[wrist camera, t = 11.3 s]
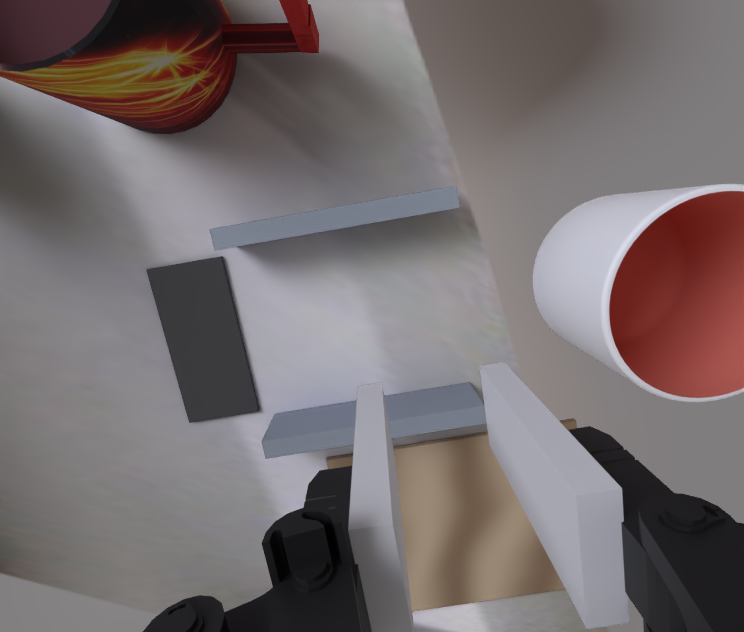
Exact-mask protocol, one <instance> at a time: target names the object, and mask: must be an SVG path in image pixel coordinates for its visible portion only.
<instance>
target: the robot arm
mask: <svg viewBox="0 0 744 632" xmlns="http://www.w3.org/2000/svg"><path fill="white" fill-rule="evenodd" d="M480 374H481V382H482V390H483V398H484V406H485V414H486V422H487V430H488V438H489V445H490V447H491V449H492V451H493V453H494V455H495V457H496V459H497V461H498V462H499V464H500V466H501V468H502V470H503V472H504V474H505V476H506V478H507V479H508V481H509V483H510V485H511V487H512V489H513V491H514V493H515V495H516V496H517V498H518V500H519V502H520V504H521V506H522V508H523V510H524V511H525V513H526V515H527V517H528V519H529V521H530V523H531V525H532V527H533V528H534V530H535V532H536V534H537V536H538V538H539V540H540V542H541V544H542V545H543V547H544V549H545V551H546V553H547V555H548V557H549V559H550V561H551V562H552V564H553V566H554V568H555V570H556V572H557V574H558V576H559V578H560V579H561V581H562V583H563V585H564V587H565V589H566V591H567V593H568V594H569V596H570V598H571V600H572V602H573V604H574V606H575V608H576V610H577V611H578V613H579V615H580V617H581V619H582V621H583V623H584V625H585V627H586V628H587V629H591V628H598V627H605V626H612V625H619V624H625V623H629V609H628V608H629V607H628V597H629V598H630V600H631V601H632V602H633V604H634V605H635V607H636V608H637V610H638V611H639V613H640V614H641V615H642V617H643V620H644V621H643V622H644V632H744V524H742V523H737V522H735V520H734V519H733V518H732V517H731V516H730V515H729V514H727V513H726V512H725V511H723V510H722V509H721V508H720V507H718V506H716V505H714V504H712V503H710V502H708V501H705V500H703V499H701V498H697V497H693V496H689V495H685V494H676V493H673V492H672V491H671V490H670V489H669V488H668V487H667V486H666V485H664V484H663V483H662V482H661V481H660V480H659V479H658V478H656V476H655V475H653V474H652V473H651V472H650V471H649V470H648V469H647V468H646V467H645V466H643V465H642V464H641V463H640V462H639V461H638V460H635V458H634V457H633V456H632V455H631V454H630V453H629V452H628V451H627V450H624V449H623V447H622V446H621V445H620V444H619V443H618V442H617V441H616V440H615V439H614V438H612V437H611V436H610V435H608V434H606V433H604V432H601V431H599V430H597V429H595V428H593V427H590V426H589V427H583V428H576V429H570V430H567V429H566V428H565V427H564V426H563V425H562V424H561V423H560V421H559V420H558V419H557V418H556V417H555V416H554V415H553V414H552V413H551V412H550V411H549V410H548V409H547V408H546V407H545V405H544V404H543V403H542V402H541V401H540V400H539V399H538V398H537V397H536V396H535V395H534V394H533V393H532V392H531V391H530V389H529V388H528V387H527V386H526V385H525V384H524V383H523V382H522V381H521V380H520V379H519V378H518V377H517V376H516V375H515V373H514V372H513V371H512V370H511V369H510V368H509V367H508V366H507V365H506V364H505V363H504V362H502V363H496V364H489V365H483V366H480ZM262 546H263V550H264V554H265V558H266V562H267V565H268V569H269V573H270V577H271V581H272V585H273V588H272V589H271V590H269V591H268V592H266V593H265V594H264V595H262V596H260V597H258V598H256V599H254V600H252V601H250V602H248V603H246V604H243V605H241V606H238V607H236V608H234V609H231V610H229V611H227V612H224V610H223V606H222V603H221V602H219V601H218V600H217V599H215V598H214V597H210V596H196V597H191V598H187V599H184V600H182V601H180V602H178V603H176V604H174V605H172V606H170V607H168V608H167V609H166V610H164V611H163V612H162V613H161V614H159V615H158V616H157V617H156V618H154V619H153V620H152V621H151V622H150V624H149V625H148V626H147V627H146V629H145V630H144V631H143V632H414V626H413V616H412V607H411V598H410V589H409V580H408V571H407V562H406V552H405V543H404V534H403V525H402V516H401V507H400V497H399V488H398V479H397V470H396V461H395V455H394V449H393V444H392V438H391V432H390V426H389V421H388V415H387V409H386V404H385V398H384V392H383V387H382V382H379V383H373V384H367V385H361V386H358V390H357V405H356V420H355V435H354V450H353V465H352V466H346V467H340V468H333V469H327V470H321V471H319V472H318V473H317V475H316V476H315V477H314V478H313V480H312V481H311V482H310V483H309V486H308V490H307V494H306V501H305V503H304V508H301V509H299V510H296V511H293V512H291V513H288V514H286V515H285V516H283V517H282V518H280V519H279V520H277V521H276V522H275V523H274V524H273V525H272V526H271V527H270V528H269V529H268V530H267V532H266V533H265V536H264V539H263V541H262Z"/></svg>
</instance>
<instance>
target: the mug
mask: <svg viewBox="0 0 744 632" xmlns="http://www.w3.org/2000/svg"><path fill="white" fill-rule="evenodd" d="M279 1H280V3H281V6H282V8H283V10H284V13H285V15H286V18H287V20H288V23H268V24H232V23H231V20H230V17H229V15H228V12H227V10H226V8H225V6H224V5H223V3H222V1H221V0H0V76H1V77H3V78H6V79H9V80H11V81H14V82H16V83H19V84H22V85H24V86H27V87H29V88H32V89H35V90H37V91H40V92H42V93H45V94H48V95H50V96H53V97H55V98H58V99H61V100H63V101H66V102H68V103H71V104H74V105H76V106H79V107H81V108H84V109H87V110H89V111H92V112H94V113H97V114H100V115H102V116H105V117H107V118H110V119H113V120H115V121H118V122H120V123H123V124H126V125H128V126H131V127H133V128H136V129H139V130H143V131H147V132H151V133H159V134H171V133H177V132H183V131H186V130H188V129H191V128H193V127H196V126H198V125H199V124H201V123H202V122H204V121H205V120H207V119H208V118H210V117H211V116H212V115H213V113H214V112H215V111H216V110H217V109H218V108H219V107H220V106H221V104H222V103H223V101H224V99H225V98H226V96H227V94H228V93H229V90H230V87H231V85H232V82H233V79H234V75H235V69H236V62H237V53H287V52H303V53H319V33H318V30H317V26H316V23H315V19H314V15H313V12H312V8H311V4H308V1H307V0H279Z"/></svg>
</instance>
